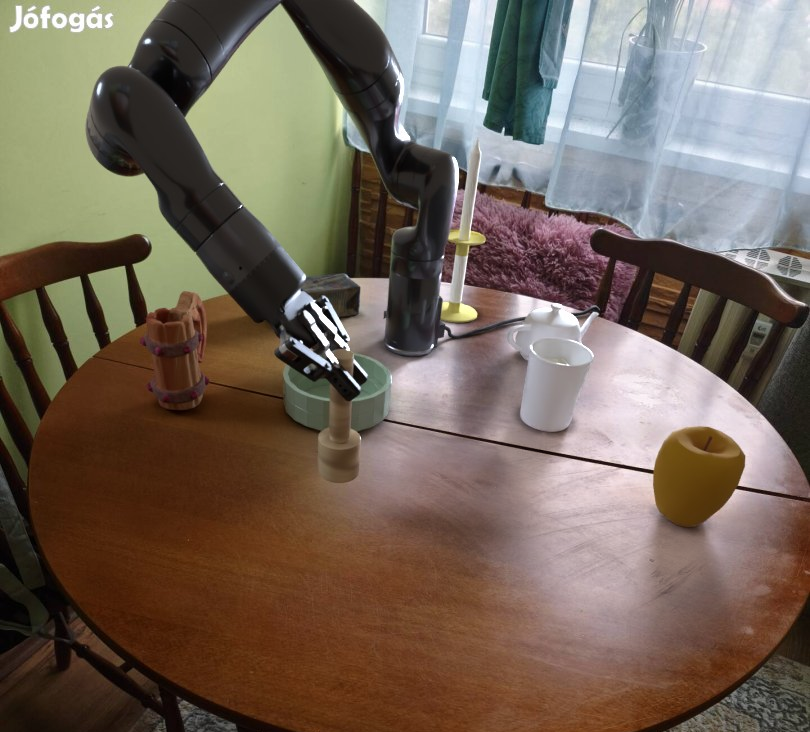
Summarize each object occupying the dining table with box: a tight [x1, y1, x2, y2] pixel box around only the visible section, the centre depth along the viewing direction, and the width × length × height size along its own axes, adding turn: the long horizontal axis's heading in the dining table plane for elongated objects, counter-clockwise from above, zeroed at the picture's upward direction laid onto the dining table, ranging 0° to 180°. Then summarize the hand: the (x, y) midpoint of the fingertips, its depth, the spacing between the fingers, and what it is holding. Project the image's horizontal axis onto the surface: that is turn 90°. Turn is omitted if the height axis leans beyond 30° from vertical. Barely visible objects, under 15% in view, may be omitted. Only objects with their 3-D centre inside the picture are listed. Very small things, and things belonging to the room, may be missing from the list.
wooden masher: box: [317, 349, 362, 484], centre depth 82 cm, size 5×5×16 cm
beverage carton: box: [300, 273, 362, 318], centre depth 135 cm, size 8×19×7 cm, turn 121°
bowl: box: [282, 352, 393, 432], centre depth 109 cm, size 17×17×6 cm
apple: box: [652, 425, 746, 528], centre depth 93 cm, size 11×11×13 cm
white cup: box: [519, 337, 594, 433], centre depth 110 cm, size 10×10×12 cm
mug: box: [139, 290, 210, 411], centre depth 105 cm, size 15×8×15 cm, turn 168°
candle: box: [440, 138, 487, 324], centre depth 134 cm, size 10×10×32 cm
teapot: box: [506, 302, 600, 362], centre depth 129 cm, size 20×12×10 cm, turn 115°
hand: (358, 389), depth 80 cm, fingers closed on wooden masher, 2 cm apart
